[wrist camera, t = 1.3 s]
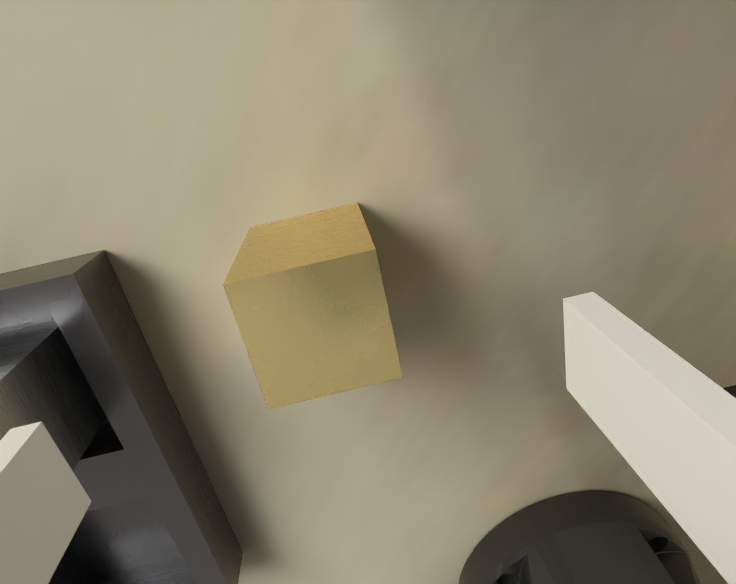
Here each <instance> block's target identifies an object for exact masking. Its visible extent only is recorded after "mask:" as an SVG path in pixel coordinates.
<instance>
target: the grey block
mask: <svg viewBox="0 0 736 584" xmlns="http://www.w3.org/2000/svg"><path fill="white" fill-rule="evenodd" d="M106 417H107V416H106V414H105V412H104V411H103V409H102V407H101V405H100V403H99V401H98V399H97V398H96V396H95V394H94V392H93V390H92V388H91V386H90V384H89V383H88V381H87V379H86V377H85V375H84V373H83V371H82V370H81V368H80V366H79V364H78V362H77V360H76V358H75V356H74V355H73V353H72V351H71V349H70V347H69V345H68V343H67V342H66V340H65V338H64V336H63V334H62V332H61V330H60V329H59V327H58V325H57V323H56V321H55V320H53V321H49V322H44V323H40V324H36V325H31V326H27V327H23V328H19V329H14V330H10V331H6V332H1V333H0V440H1V439H2V438H3V437H4V436H5V435H6V434H7V432H8V431H9V430H10V429H12V428H16V427H20V426H24V425H29V424H33V423H37V422H41V421H42V423H43V425H44V426H45V428H46V429H47V431H48V433H49V434H50V436H51V437H52V439H53V441H54V442H55V444H56V445H57V447H58V449H59V450H60V452H61V453H62V455H63V457H64V458H65V460H66V461H67V463H68V465H69V466H70V468H71V469H72V471H73V469H74V468H75V466H76V464H77V463H78V461H79V460H80V458H81V457H82V455H83V453H84V452H85V450H86V449H87V447H88V446H89V444H90V442H91V441H92V439H93V438H94V436H95V434H96V433H97V431H98V430H99V428H100V427H101V425H102V423H103V422H104V420H105V419H106Z"/></svg>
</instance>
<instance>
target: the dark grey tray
mask: <svg viewBox="0 0 736 584" xmlns="http://www.w3.org/2000/svg"><path fill="white" fill-rule="evenodd" d="M53 320H55V321H56V323H57V325H58V327H59V329H60V330H61V332H62V334H63V336H64V338H65V340H66V342H67V343H68V345H69V347H70V349H71V351H72V353H73V355H74V356H75V358H76V360H77V362H78V364H79V366H80V368H81V370H82V371H83V373H84V375H85V377H86V379H87V381H88V383H89V384H90V386H91V388H92V390H93V392H94V394H95V396H96V398H97V399H98V401H99V403H100V405H101V407H102V409H103V411H104V412H105V414H106V416H107V417H106V419H105V420H104V422H103V423H102V425H101V427H100V428H99V430H98V431H97V433H96V434H95V436H94V438H93V439H92V441H91V442H90V444H89V446H88V447H87V449H86V450H85V452H84V453H83V455H82V457H81V458H80V460H79V461H78V463H77V464H76V466H75V468H74V469H73V473H74V474H75V476H76V477H77V479H78V481H79V482H80V484H81V485H82V487H83V488H84V490H85V492H86V493H87V495H88V496H89V498H90V500H91V503H90V505H89V507H88V509H87V511H86V513H85V515H84V517H83V519H82V520H81V522H80V524H79V526H78V528H77V530H76V532H75V534H74V536H73V537H72V539H71V541H70V543H69V545H68V547H67V549H66V551H65V553H64V555H63V556H62V558H61V560H60V562H59V564H58V566H57V568H56V570H55V572H54V573H53V575H52V577H51V579H50V581H49V583H48V584H238V579H239V573H240V566H241V560H242V550H241V548H240V546H239V544H238V542H237V539H236V537H235V535H234V533H233V531H232V529H231V526H230V524H229V522H228V520H227V518H226V515H225V513H224V511H223V509H222V507H221V505H220V502H219V500H218V498H217V496H216V494H215V491H214V489H213V487H212V485H211V483H210V481H209V478H208V476H207V474H206V472H205V470H204V467H203V465H202V463H201V461H200V459H199V456H198V454H197V452H196V450H195V448H194V446H193V443H192V441H191V439H190V437H189V435H188V432H187V430H186V428H185V426H184V424H183V422H182V419H181V417H180V415H179V413H178V411H177V408H176V406H175V404H174V402H173V400H172V398H171V395H170V393H169V391H168V389H167V387H166V384H165V382H164V380H163V378H162V376H161V374H160V371H159V369H158V367H157V365H156V363H155V360H154V358H153V356H152V354H151V352H150V349H149V347H148V345H147V343H146V341H145V339H144V336H143V334H142V332H141V330H140V328H139V325H138V323H137V321H136V319H135V317H134V315H133V312H132V310H131V308H130V306H129V304H128V301H127V299H126V297H125V295H124V293H123V291H122V288H121V286H120V284H119V282H118V280H117V277H116V275H115V273H114V271H113V269H112V266H111V264H110V262H109V260H108V258H107V256H106V253H105V251H104V250H102V251H98V252H93V253H89V254H85V255H81V256H76V257H72V258H68V259H63V260H59V261H55V262H50V263H46V264H42V265H37V266H33V267H29V268H24V269H20V270H16V271H11V272H7V273H3V274H0V333H1V332H6V331H10V330H14V329H19V328H23V327H27V326H31V325H36V324H40V323H44V322H49V321H53Z"/></svg>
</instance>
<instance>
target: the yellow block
mask: <svg viewBox="0 0 736 584" xmlns="http://www.w3.org/2000/svg"><path fill="white" fill-rule="evenodd" d="M223 286H224V289H225V291H226V294H227V297H228V300H229V302H230V305H231V308H232V311H233V313H234V316H235V319H236V322H237V325H238V327H239V330H240V333H241V336H242V338H243V341H244V344H245V347H246V349H247V352H248V355H249V358H250V360H251V363H252V366H253V369H254V372H255V374H256V377H257V380H258V383H259V385H260V388H261V391H262V394H263V396H264V399H265V402H266V405H267V408H268V409H272V408H276V407H280V406H284V405H289V404H293V403H297V402H301V401H305V400H310V399H314V398H318V397H322V396H326V395H331V394H335V393H339V392H343V391H347V390H352V389H356V388H360V387H364V386H368V385H373V384H377V383H381V382H385V381H389V380H394V379H398V378H402V377H403V375H402V371H401V366H400V361H399V357H398V352H397V347H396V342H395V338H394V333H393V328H392V324H391V319H390V314H389V310H388V305H387V300H386V295H385V291H384V286H383V281H382V277H381V272H380V267H379V263H378V258H377V253H376V249H375V246H374V244H373V241H372V238H371V236H370V233H369V231H368V228H367V226H366V223H365V221H364V218H363V215H362V213H361V210H360V208H359V205H358V203H353V204H349V205H344V206H340V207H336V208H331V209H327V210H323V211H318V212H314V213H310V214H306V215H301V216H297V217H293V218H288V219H284V220H280V221H275V222H271V223H267V224H262V225H258V226H254V227H250V228H249V230H248V233H247V235H246V237H245V239H244V241H243V243H242V245H241V247H240V250H239V252H238V254H237V256H236V258H235V260H234V262H233V265H232V267H231V269H230V271H229V273H228V275H227V277H226V279H225V282H224V284H223Z"/></svg>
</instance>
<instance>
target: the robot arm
mask: <svg viewBox="0 0 736 584" xmlns="http://www.w3.org/2000/svg"><path fill="white" fill-rule="evenodd" d="M563 309H564V336H565V362H566V388H567V390H568V391H569V392H570V393H571V394H572V396H573V397H574V398H575V399H576V400H577V402H578V403H579V404H580V405H581V407H582V408H583V409H584V410H585V411H586V413H587V414H588V415H589V416H590V417H591V419H592V420H593V421H594V422H595V423H596V425H597V426H598V427H599V428H600V429H601V431H602V432H603V433H604V434H605V435H606V437H607V438H608V439H609V440H610V442H611V443H612V444H613V445H614V446H615V448H616V449H617V450H618V451H619V452H620V454H621V455H622V456H623V457H624V458H625V460H626V461H627V462H628V463H629V464H630V466H631V467H632V468H633V469H634V470H635V472H636V473H637V474H638V475H639V477H640V478H641V479H642V480H643V481H644V483H645V484H646V485H647V486H648V487H649V489H650V490H651V491H652V492H653V493H654V495H655V496H656V497H657V498H658V499H659V501H660V502H661V503H662V504H663V506H664V507H665V508H666V509H667V510H668V512H669V513H670V514H671V515H672V516H673V518H674V519H675V520H676V521H677V522H678V524H679V525H680V526H681V527H682V528H683V530H684V531H685V532H686V533H687V534H688V536H689V537H690V538H691V539H692V541H693V542H694V543H695V544H696V545H697V547H698V548H699V549H700V550H701V551H702V553H703V554H704V555H705V556H706V557H707V559H708V560H709V561H710V562H711V563H712V565H713V566H714V567H715V568H716V569H717V571H718V572H719V573H720V574H721V576H722V577H723V578H724V579H725V580H726V582H727V583H728V584H736V385H734V386H730V387H726V388H721V387H720V386H719V385H717V384H716V383H715V382H713V381H712V380H711V379H709V378H708V377H707V376H705V375H704V374H703V373H701V372H700V371H699V370H697V369H696V368H695V367H693V366H692V365H691V364H689V363H688V362H687V361H685V360H684V359H683V358H681V357H680V356H679V355H677V354H676V353H674V352H673V351H672V350H670V349H669V348H668V347H666V346H665V345H664V344H662V343H661V342H660V341H658V340H657V339H656V338H654V337H653V336H652V335H650V334H649V333H648V332H646V331H645V330H644V329H642V328H641V327H640V326H638V325H637V324H636V323H634V322H633V321H632V320H630V319H629V318H628V317H626V316H625V315H624V314H622V313H621V312H620V311H618V310H617V309H616V308H614V307H613V306H612V305H610V304H609V303H608V302H606V301H605V300H604V299H602V298H601V297H600V296H598V295H597V294H596V293H594V292H589V293H585V294H581V295H577V296H572V297H568V298H564V299H563ZM90 503H91V500H90V498H89V496H88V495H87V493H86V492H85V490H84V488H83V487H82V485H81V484H80V482H79V481H78V479H77V477H76V476H75V474H74V473H73V471H72V469H71V468H70V466H69V465H68V463H67V461H66V460H65V458H64V457H63V455H62V453H61V452H60V450H59V449H58V447H57V445H56V444H55V442H54V441H53V439H52V437H51V436H50V434H49V433H48V431H47V429H46V428H45V426H44V425H43V423H42V421H41V422H37V423H33V424H29V425H24V426H20V427H16V428H12V429H10V430H9V431H8V432H7V434H6V435H5V436H4V437H3V438H2V439H1V440H0V584H48V583H49V581H50V579H51V577H52V575H53V573H54V572H55V570H56V568H57V566H58V564H59V562H60V560H61V558H62V556H63V555H64V553H65V551H66V549H67V547H68V545H69V543H70V541H71V539H72V537H73V536H74V534H75V532H76V530H77V528H78V526H79V524H80V522H81V520H82V519H83V517H84V515H85V513H86V511H87V509H88V507H89V505H90ZM459 584H701V583H700V581H699V578H698V576H697V573H696V571H695V568H694V566H693V564H692V561H691V559H690V556H689V554H688V552H687V551H686V549H685V547H684V546H683V544H682V542H681V541H680V540H679V539H678V537H677V536H676V535H675V534H674V532H673V531H672V530H671V529H670V527H669V526H668V525H667V524H666V522H665V521H664V520H663V519H662V518H661V516H660V515H659V514H658V513H657V512H656V511H655V510H654V509H653V508H651V507H650V506H649V505H647V504H646V503H644V502H642V501H640V500H638V499H635V498H633V497H630V496H627V495H622V494H618V493H611V492H581V493H573V494H568V495H563V496H559V497H555V498H551V499H548V500H545V501H542V502H540V503H537V504H535V505H533V506H530V507H528V508H526V509H524V510H522V511H520V512H518V513H516V514H515V515H513V516H511V517H510V518H508V519H507V520H505V521H504V522H502V523H501V524H500V525H498V526H497V527H496V528H495V529H493V530H492V531H491V532H490V533H489V534H488V535H487V536H486V537H485V538H484V539H483V540H482V541H481V542H480V543H479V544H478V545H477V546H476V548H475V549H474V550H473V552H472V553H471V555H470V556H469V558H468V560H467V561H466V563H465V565H464V568H463V570H462V573H461V576H460V580H459Z"/></svg>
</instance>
